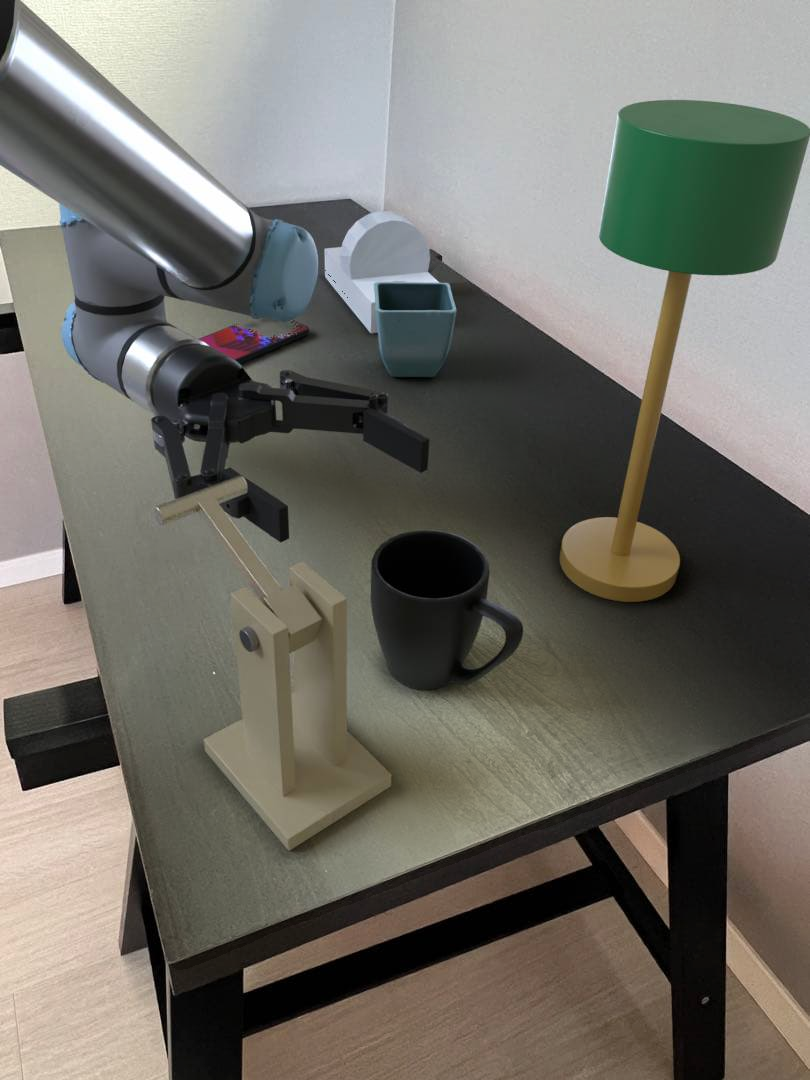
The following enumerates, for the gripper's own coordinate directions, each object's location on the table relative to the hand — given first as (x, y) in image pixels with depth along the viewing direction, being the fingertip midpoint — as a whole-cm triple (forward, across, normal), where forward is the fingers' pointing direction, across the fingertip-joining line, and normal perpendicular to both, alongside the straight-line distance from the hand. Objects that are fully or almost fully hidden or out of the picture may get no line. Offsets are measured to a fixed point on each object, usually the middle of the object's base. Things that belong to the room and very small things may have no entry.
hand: (359, 488), depth 68 cm
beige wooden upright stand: (+8, +13, -12) cm, 20 cm away
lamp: (+10, -21, -12) cm, 26 cm away
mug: (+9, 0, -12) cm, 15 cm away
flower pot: (-29, -35, -12) cm, 47 cm away
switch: (+4, +13, +1) cm, 13 cm away
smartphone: (-46, -24, -12) cm, 53 cm away
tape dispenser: (-46, -47, -12) cm, 67 cm away
